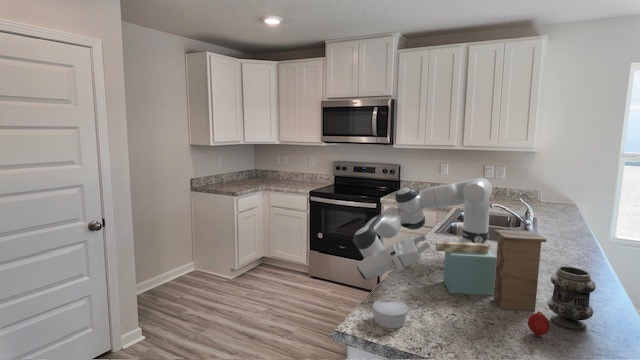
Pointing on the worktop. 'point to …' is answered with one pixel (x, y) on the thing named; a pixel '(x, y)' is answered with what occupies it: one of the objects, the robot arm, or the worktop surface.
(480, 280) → the low block
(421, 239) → the robot arm
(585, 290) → the apothecary jar
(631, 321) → the worktop surface
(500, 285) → the tall stand
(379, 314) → the ramekin
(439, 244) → the rod
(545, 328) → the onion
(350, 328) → the worktop surface
